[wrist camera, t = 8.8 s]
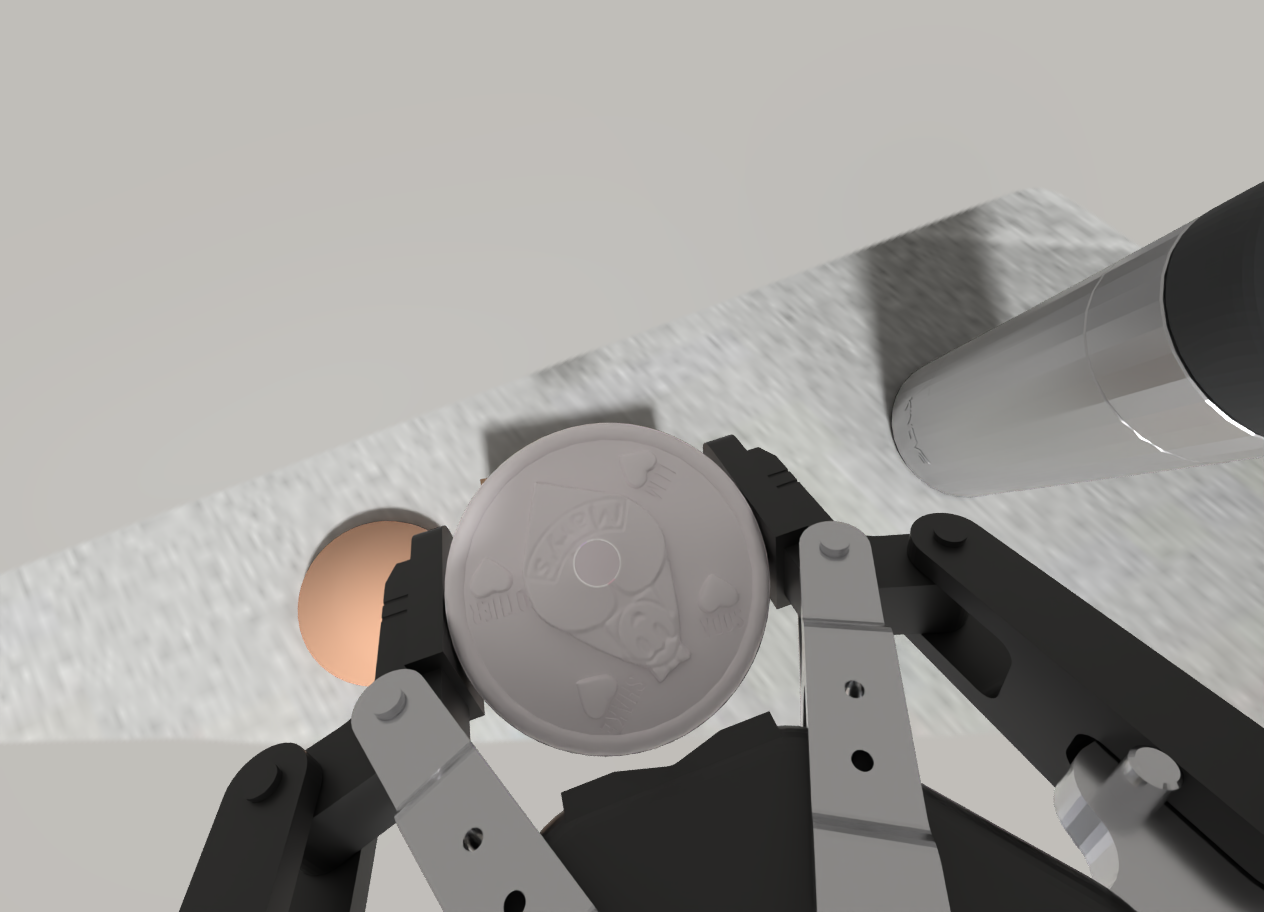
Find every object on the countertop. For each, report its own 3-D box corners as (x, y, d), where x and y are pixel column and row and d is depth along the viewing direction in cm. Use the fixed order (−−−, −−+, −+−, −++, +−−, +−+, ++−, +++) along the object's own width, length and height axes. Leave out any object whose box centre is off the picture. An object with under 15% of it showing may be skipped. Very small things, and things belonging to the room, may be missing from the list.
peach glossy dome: (456, 509, 33) (453, 508, 32) (477, 665, 31) (474, 668, 31) (298, 536, 32) (291, 536, 31) (312, 698, 30) (305, 702, 30)
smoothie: (616, 445, 21) (671, 240, 7) (722, 582, 20) (1007, 649, 6) (475, 551, 20) (215, 553, 6) (583, 698, 19) (570, 1072, 5)
